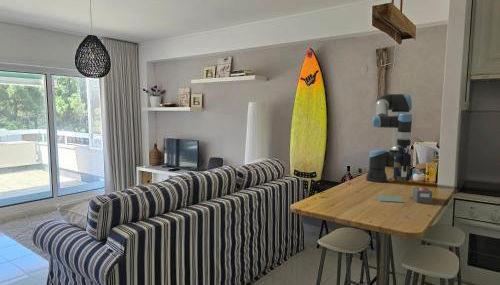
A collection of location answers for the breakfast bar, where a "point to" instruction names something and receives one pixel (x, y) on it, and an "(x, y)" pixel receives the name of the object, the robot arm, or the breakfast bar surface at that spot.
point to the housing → (422, 195)
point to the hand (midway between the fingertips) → (401, 174)
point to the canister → (398, 168)
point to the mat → (389, 199)
